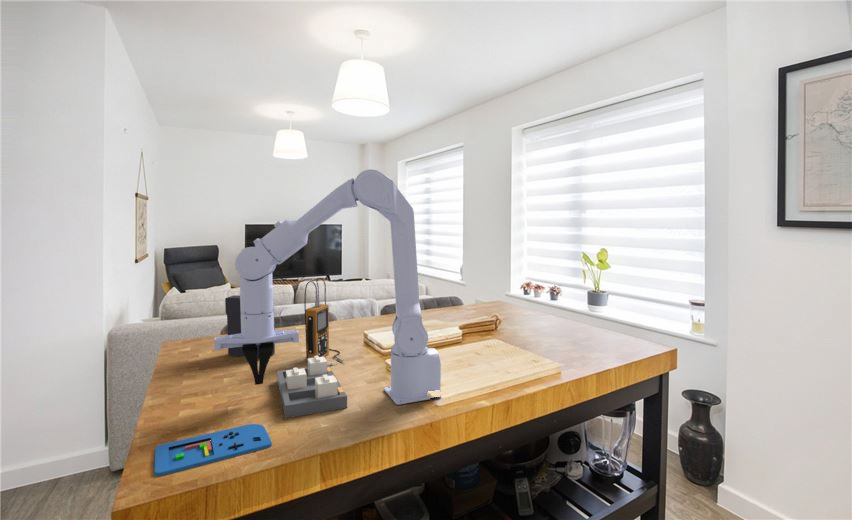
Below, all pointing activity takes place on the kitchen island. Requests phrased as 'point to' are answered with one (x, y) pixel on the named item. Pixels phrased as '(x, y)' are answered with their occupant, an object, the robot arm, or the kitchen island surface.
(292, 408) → the switch bank
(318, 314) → the multimeter
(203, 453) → the handheld gaming device
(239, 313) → the dark gray lidded box
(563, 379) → the kitchen island surface
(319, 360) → the tab
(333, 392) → the tab
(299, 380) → the tab
